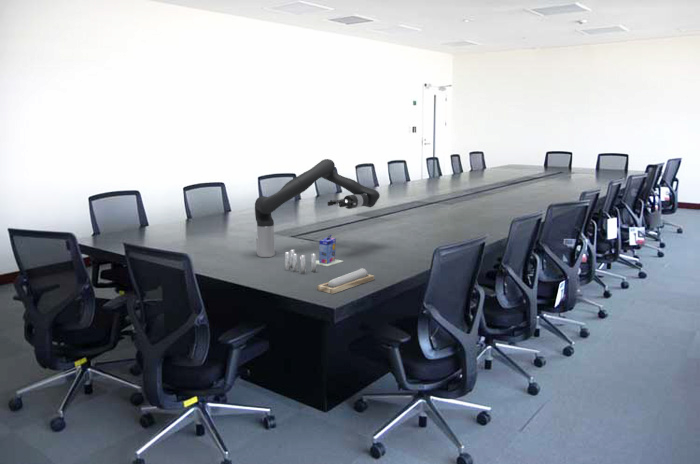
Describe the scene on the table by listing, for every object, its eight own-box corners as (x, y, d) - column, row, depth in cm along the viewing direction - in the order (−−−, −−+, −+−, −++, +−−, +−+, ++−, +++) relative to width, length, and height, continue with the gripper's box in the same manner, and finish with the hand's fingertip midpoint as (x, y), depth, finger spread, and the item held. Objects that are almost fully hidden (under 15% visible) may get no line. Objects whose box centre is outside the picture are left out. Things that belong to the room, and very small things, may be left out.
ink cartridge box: (328, 264, 287) (328, 237, 284) (318, 263, 289) (318, 236, 286) (336, 260, 295) (336, 233, 293) (327, 259, 298) (326, 232, 295)
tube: (336, 284, 239) (369, 271, 259) (327, 278, 242) (360, 266, 261) (333, 294, 241) (366, 281, 261) (324, 288, 244) (357, 276, 263)
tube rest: (317, 289, 243) (317, 285, 243) (358, 276, 265) (358, 272, 265) (332, 293, 238) (332, 289, 237) (374, 279, 260) (374, 275, 259)
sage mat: (310, 263, 291) (310, 262, 291) (327, 258, 301) (327, 257, 301) (327, 266, 284) (327, 265, 284) (343, 261, 294) (343, 260, 293)
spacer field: (281, 268, 279) (281, 251, 278) (292, 265, 285) (292, 249, 284) (306, 274, 268) (305, 256, 267) (317, 271, 274) (316, 253, 273)
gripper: (343, 193, 310) (324, 196, 298) (363, 195, 301) (343, 198, 289) (343, 206, 311) (324, 210, 299) (363, 209, 302) (344, 212, 290)
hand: (333, 204), depth 294 cm, fingers open, 8 cm apart
